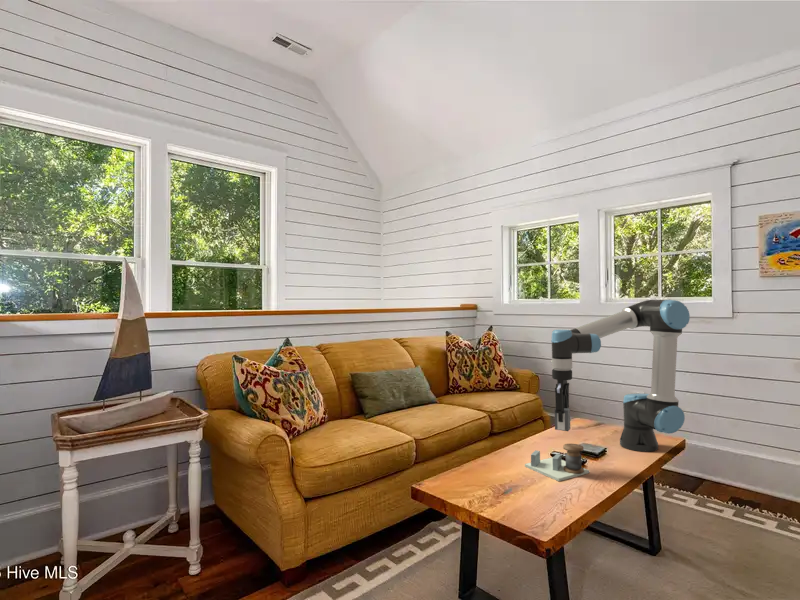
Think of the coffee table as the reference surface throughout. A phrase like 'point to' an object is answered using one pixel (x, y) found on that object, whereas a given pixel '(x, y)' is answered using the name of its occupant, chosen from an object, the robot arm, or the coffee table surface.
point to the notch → (536, 460)
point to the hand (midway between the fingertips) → (562, 428)
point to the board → (547, 470)
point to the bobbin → (573, 458)
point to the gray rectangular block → (567, 419)
